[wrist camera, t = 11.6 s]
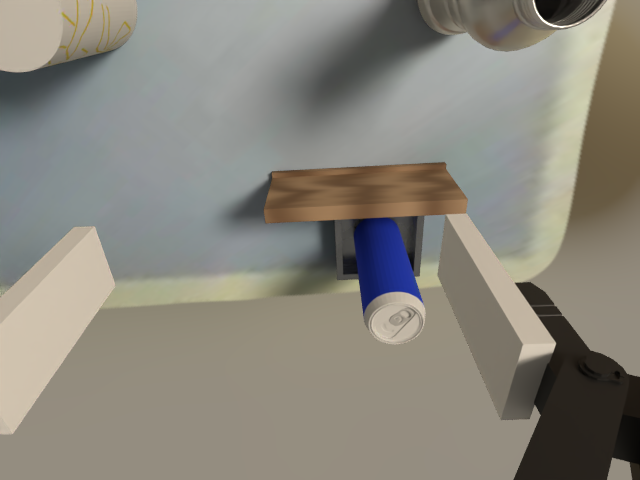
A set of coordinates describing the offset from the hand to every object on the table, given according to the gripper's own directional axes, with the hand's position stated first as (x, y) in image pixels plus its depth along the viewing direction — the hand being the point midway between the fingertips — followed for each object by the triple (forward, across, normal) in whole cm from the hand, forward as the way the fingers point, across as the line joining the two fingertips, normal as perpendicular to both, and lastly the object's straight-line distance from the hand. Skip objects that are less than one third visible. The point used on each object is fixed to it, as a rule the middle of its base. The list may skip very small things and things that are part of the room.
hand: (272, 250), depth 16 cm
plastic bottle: (+28, +13, +8) cm, 32 cm away
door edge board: (+28, +6, -8) cm, 29 cm away
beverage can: (+27, +8, -15) cm, 32 cm away
